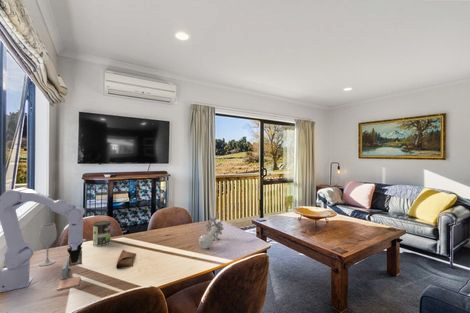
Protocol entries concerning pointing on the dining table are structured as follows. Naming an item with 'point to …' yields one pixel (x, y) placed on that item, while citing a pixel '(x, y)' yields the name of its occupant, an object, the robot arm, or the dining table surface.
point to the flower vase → (211, 234)
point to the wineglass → (47, 239)
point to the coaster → (68, 283)
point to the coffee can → (101, 233)
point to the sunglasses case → (125, 260)
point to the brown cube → (78, 260)
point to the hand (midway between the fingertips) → (75, 260)
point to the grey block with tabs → (65, 270)
